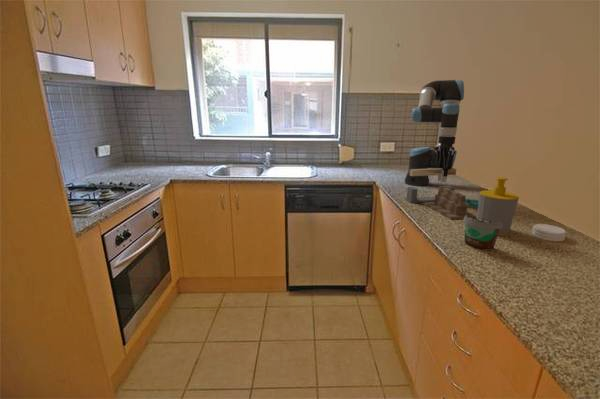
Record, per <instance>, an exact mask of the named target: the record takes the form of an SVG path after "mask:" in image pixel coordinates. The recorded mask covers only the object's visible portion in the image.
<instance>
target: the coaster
mask: <svg viewBox="0 0 600 399" xmlns="http://www.w3.org/2000/svg"><path fill="white" fill-rule="evenodd" d="M531 234H532V235H533V237H536V238H538V239H540V240H545V241H549V242H563V241H565V239H566V234H567V231H566V229H564V228H562V227H559V226H556V225H551V224H544V223H537V224H534V225H533V226H532V230H531Z"/></svg>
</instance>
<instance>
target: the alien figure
mask: <svg viewBox="0 0 600 399" xmlns="http://www.w3.org/2000/svg"><path fill="white" fill-rule="evenodd" d="M465 204H468V206H469V207H471V208H473V207H474V209H478V204H479V199H475V198H474V199H473V198H472V199H471V198H467V197H465Z"/></svg>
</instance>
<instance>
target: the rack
mask: <svg viewBox="0 0 600 399" xmlns="http://www.w3.org/2000/svg"><path fill="white" fill-rule="evenodd" d="M443 186H444V187H446V188H449V189H451V190H453V191H455V187H453V186H450V185H443ZM404 200H405V201H407V202H408V203H410V204H411V203H412V204H413V203H414V204H415V203H417V204H418V203H425V202H434V200H435V196H419V197H418V188H416V187H414V186H407V191H406V197H405V198H404Z"/></svg>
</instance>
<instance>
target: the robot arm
mask: <svg viewBox="0 0 600 399" xmlns="http://www.w3.org/2000/svg"><path fill="white" fill-rule="evenodd" d="M464 95H465V86H464V81H463V80H462V79H448V80H447V79H446V80H445V79H443V80H433V81H430V82H429V83H427V84H425V85H423V87H422V88H421V89H420V91H419V93H418V97H419V101H418V105H417V107H414V108H412V111H411V112H412V114H411V121H412V122H413V123H439V125H438V126H439V128H438V134H437V135H438V136H437V143H436V145H435V146H433V149H431V147H430V146H422V147H421V146H420V147H415V148H414V147H413V148H412V149H410V152H409V160H408V161H409V162H408V170H407V173H406V176H405V177H404V184H405V185H409V186H415V187H416V186H420V187H422V186H423V187H424V186H429V185H430V178H429V176H410V175H409V170H410V169H433V168H443V169H442V175H436V176H437V177H436V181H437V182H438V181H440V183H447V179H448V175H447V174H448V170H450V169H451V168H454V164H455V161H456V159H457V153H458V152H457V150H456V149H455V146H454V145H455V143H456V136H457V131H458V121H459V116H460V107H461V105H460V104H461V101H463V100H464V97H465V96H464ZM434 101H439V105H441V107H433V105H434V104H433V103H434Z"/></svg>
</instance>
